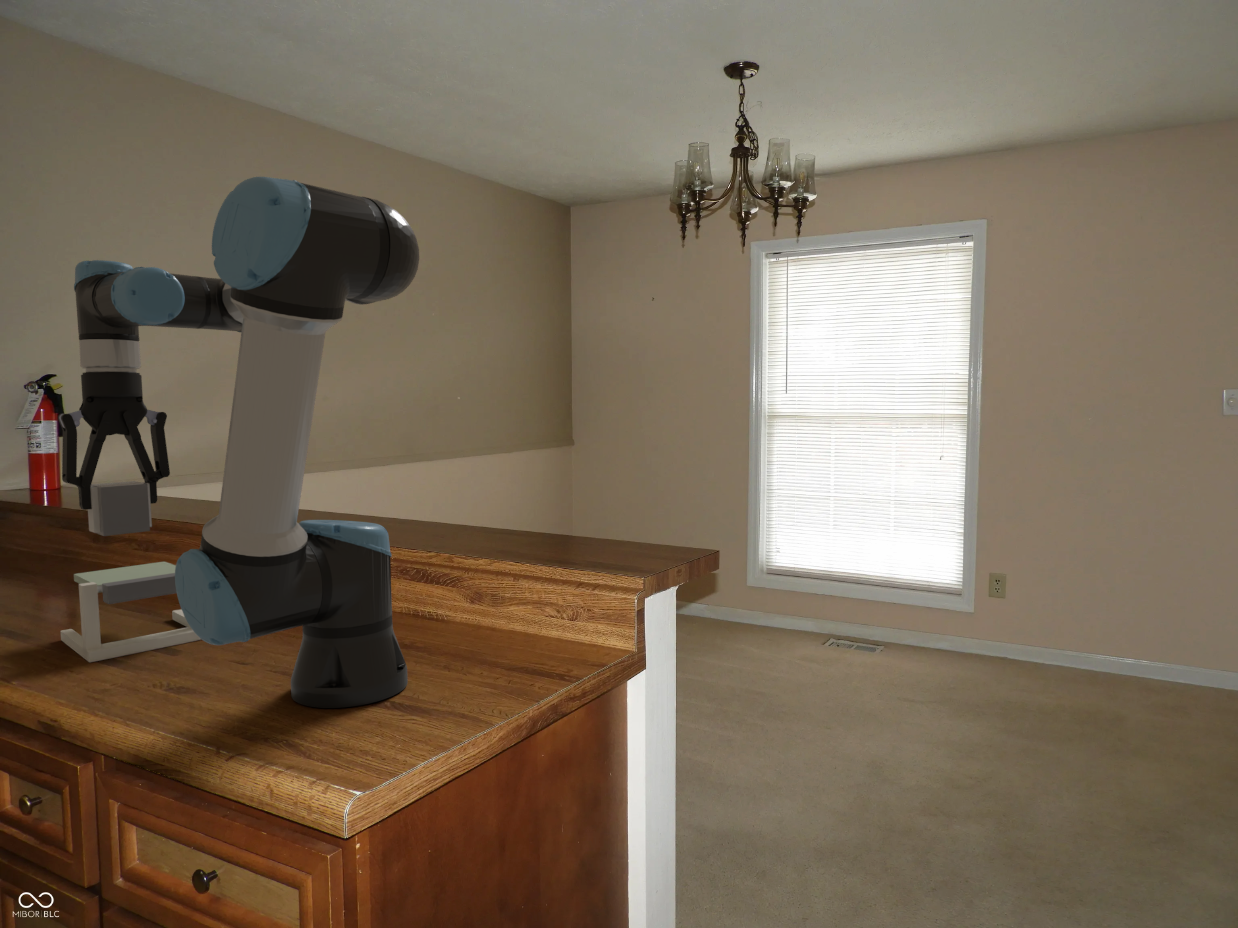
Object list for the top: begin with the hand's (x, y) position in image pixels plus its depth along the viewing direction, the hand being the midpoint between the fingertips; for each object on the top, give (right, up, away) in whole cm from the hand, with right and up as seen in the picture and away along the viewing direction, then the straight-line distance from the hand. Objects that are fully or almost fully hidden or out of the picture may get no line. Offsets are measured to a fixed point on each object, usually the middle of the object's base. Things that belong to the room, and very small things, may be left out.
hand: (121, 528), depth 122 cm
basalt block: (0, 0, 0) cm, 0 cm away
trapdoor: (-7, -11, +16) cm, 21 cm away
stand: (-7, -20, +17) cm, 27 cm away
